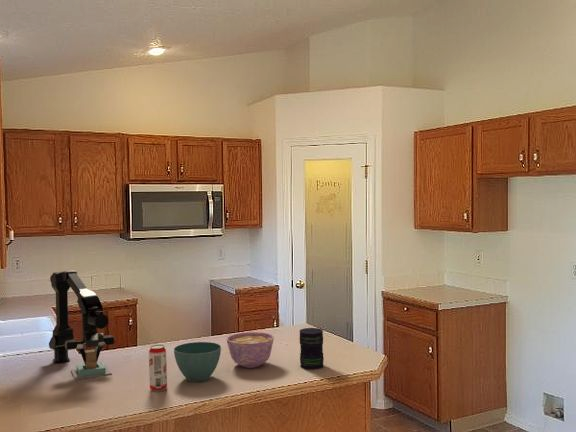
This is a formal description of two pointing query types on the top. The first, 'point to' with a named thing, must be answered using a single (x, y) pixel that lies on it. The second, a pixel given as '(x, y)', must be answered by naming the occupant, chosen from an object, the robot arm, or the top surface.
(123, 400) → the top surface
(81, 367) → the socket block
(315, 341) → the storage jar
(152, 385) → the beer can
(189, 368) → the teal bowl
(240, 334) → the bowl of food
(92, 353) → the walnut peg
